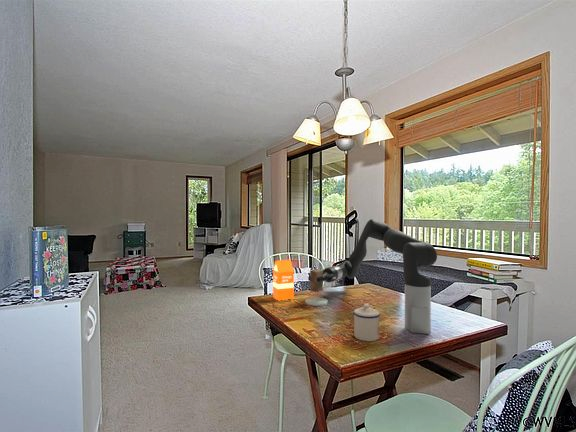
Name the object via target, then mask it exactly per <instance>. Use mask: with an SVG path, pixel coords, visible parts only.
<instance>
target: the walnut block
mask: <svg viewBox="0 0 576 432" xmlns="http://www.w3.org/2000/svg"><path fill="white" fill-rule="evenodd" d="M323 270H324V269H315V268H314V269H310V271H309V276H310V281H309V291H310V292H314V293H319V292H322V291H324V286H323V285H324V283H323V281H321V282H317V278H318V277H322V276H323Z"/></svg>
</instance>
